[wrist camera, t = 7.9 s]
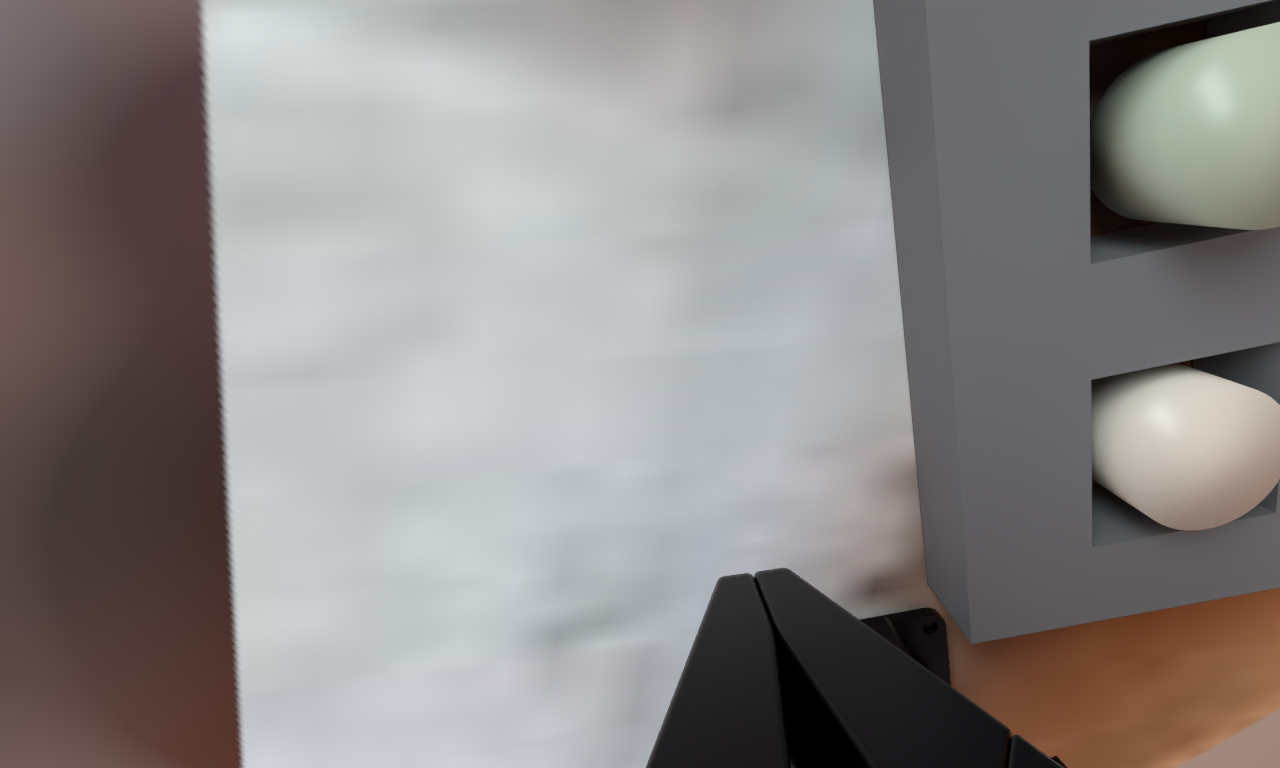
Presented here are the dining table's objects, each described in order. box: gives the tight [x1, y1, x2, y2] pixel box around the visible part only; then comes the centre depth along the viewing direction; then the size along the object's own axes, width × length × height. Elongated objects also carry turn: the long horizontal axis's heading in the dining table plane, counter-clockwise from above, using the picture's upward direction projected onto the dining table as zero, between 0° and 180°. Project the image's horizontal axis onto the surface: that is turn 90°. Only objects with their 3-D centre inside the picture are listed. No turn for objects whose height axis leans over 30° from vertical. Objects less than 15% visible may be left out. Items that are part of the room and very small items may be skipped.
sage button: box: [1090, 22, 1280, 230], centre depth 15 cm, size 4×4×3 cm
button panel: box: [873, 0, 1280, 644], centre depth 17 cm, size 26×12×3 cm, turn 12°
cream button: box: [1091, 363, 1280, 531], centre depth 18 cm, size 4×4×3 cm
